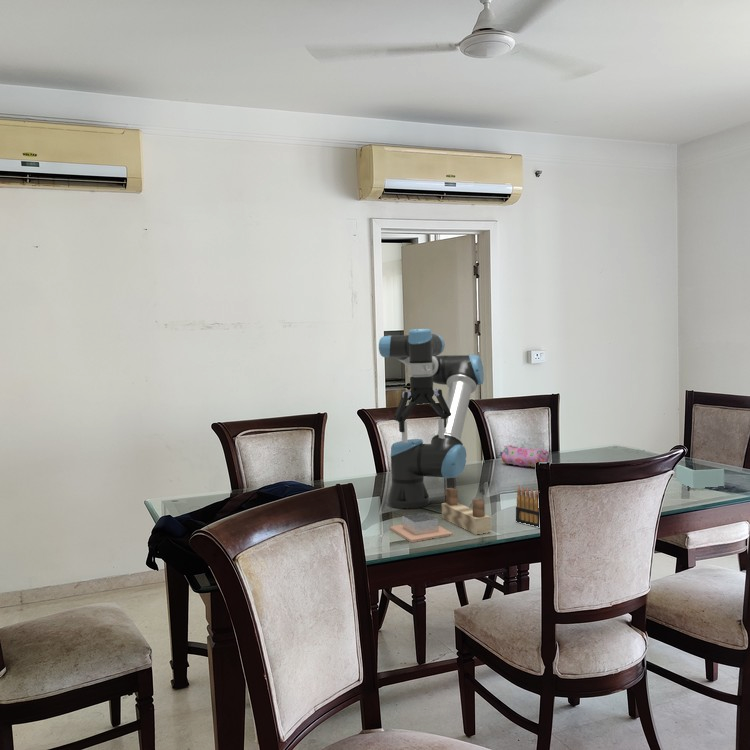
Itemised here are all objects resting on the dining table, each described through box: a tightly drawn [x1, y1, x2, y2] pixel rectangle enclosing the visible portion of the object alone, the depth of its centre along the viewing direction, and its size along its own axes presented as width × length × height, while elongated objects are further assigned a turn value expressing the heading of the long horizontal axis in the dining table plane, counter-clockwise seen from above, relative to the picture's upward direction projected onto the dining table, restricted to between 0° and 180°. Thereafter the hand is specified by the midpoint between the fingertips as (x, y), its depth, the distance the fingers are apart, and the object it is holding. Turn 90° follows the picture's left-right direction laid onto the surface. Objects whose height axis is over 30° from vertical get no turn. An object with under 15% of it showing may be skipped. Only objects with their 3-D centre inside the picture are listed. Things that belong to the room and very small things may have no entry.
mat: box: [389, 524, 454, 543], centre depth 214 cm, size 16×14×1 cm
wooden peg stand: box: [441, 487, 491, 536], centre depth 220 cm, size 22×5×10 cm, turn 23°
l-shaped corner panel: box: [675, 464, 725, 488], centre depth 260 cm, size 12×12×8 cm
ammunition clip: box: [515, 485, 539, 527], centre depth 218 cm, size 11×2×12 cm, turn 38°
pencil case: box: [499, 445, 550, 468], centre depth 309 cm, size 21×9×9 cm, turn 44°
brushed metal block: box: [402, 511, 440, 535], centre depth 214 cm, size 9×8×4 cm
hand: (423, 440), depth 227 cm, fingers open, 13 cm apart
